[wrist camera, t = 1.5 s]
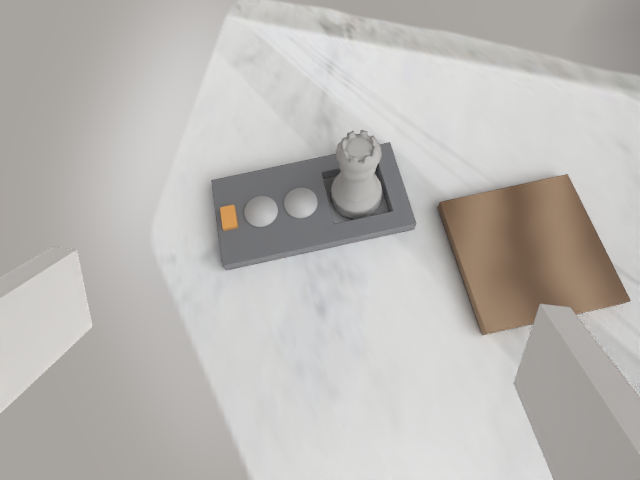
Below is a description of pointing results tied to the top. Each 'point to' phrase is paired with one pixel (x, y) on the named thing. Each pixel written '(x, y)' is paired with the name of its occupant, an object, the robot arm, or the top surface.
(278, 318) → the top surface
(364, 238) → the gray slotted board
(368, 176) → the rook chess piece
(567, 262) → the walnut pad
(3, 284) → the robot arm
